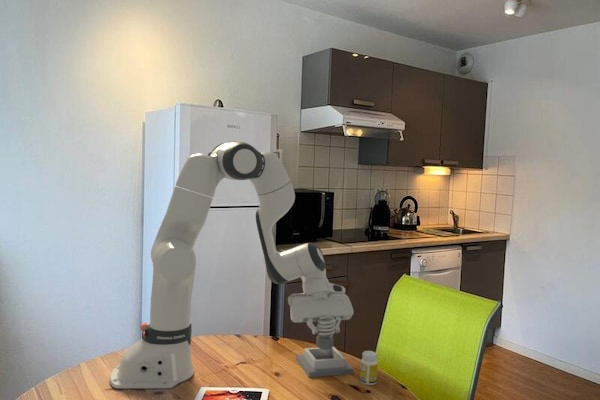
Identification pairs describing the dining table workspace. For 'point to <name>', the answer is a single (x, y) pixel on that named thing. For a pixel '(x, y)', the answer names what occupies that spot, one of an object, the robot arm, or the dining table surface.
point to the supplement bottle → (368, 368)
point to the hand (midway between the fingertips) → (326, 332)
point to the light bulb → (325, 334)
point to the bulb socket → (323, 362)
